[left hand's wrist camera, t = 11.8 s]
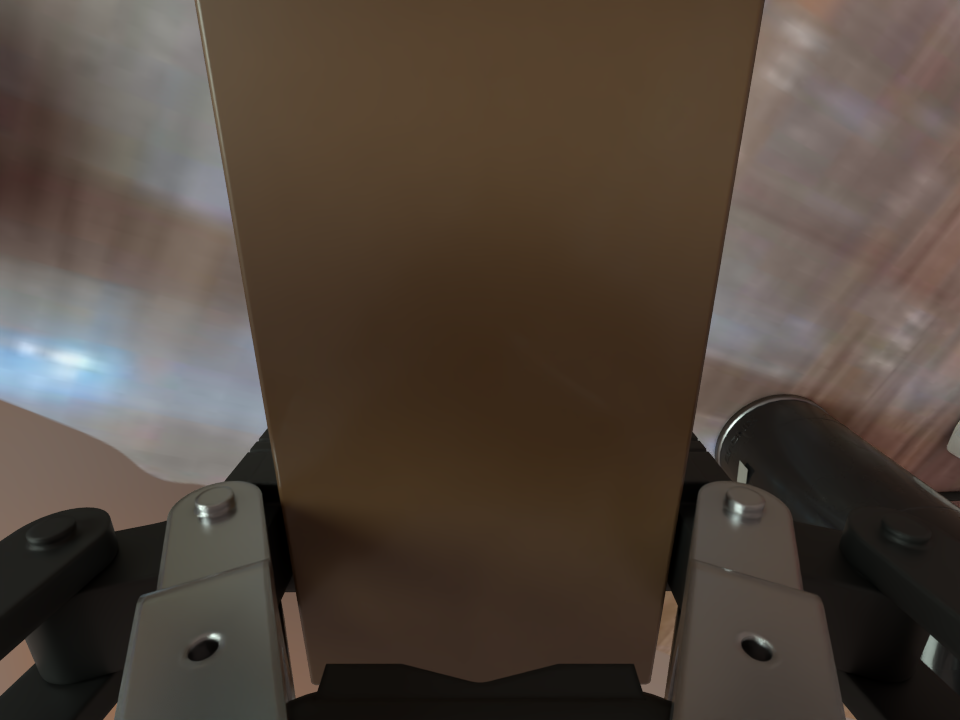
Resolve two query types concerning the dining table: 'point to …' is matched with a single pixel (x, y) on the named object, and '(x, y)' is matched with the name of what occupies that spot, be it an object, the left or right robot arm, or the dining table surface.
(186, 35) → the dining table surface
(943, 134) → the dining table surface
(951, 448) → the pistol
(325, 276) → the box
